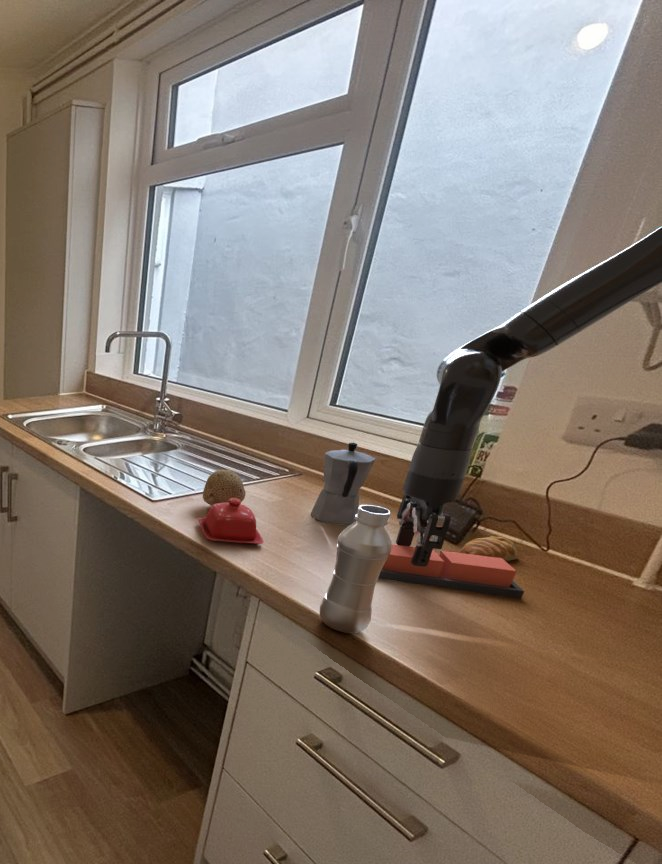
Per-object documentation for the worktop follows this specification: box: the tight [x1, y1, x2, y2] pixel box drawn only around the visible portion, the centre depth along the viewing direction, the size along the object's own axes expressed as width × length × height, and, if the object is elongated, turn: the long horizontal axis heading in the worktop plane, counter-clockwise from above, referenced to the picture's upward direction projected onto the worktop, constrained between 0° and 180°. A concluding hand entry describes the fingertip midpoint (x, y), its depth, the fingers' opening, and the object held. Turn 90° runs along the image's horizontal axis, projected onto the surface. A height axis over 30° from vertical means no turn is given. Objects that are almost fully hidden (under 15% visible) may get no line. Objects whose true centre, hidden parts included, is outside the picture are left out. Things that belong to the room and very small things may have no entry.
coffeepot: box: [310, 442, 376, 527], centre depth 117 cm, size 15×9×18 cm, turn 153°
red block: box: [438, 550, 518, 588], centre depth 93 cm, size 9×5×4 cm, turn 69°
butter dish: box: [198, 498, 264, 545], centre depth 112 cm, size 12×12×8 cm
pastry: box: [460, 535, 519, 562], centre depth 102 cm, size 9×7×4 cm
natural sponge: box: [202, 469, 247, 507], centre depth 125 cm, size 9×9×10 cm
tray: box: [378, 570, 525, 600], centre depth 96 cm, size 22×10×2 cm, turn 69°
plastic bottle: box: [319, 504, 393, 634], centre depth 79 cm, size 6×7×20 cm
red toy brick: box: [382, 543, 444, 578], centre depth 97 cm, size 9×5×4 cm, turn 69°
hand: (410, 554), depth 96 cm, fingers open, 8 cm apart
